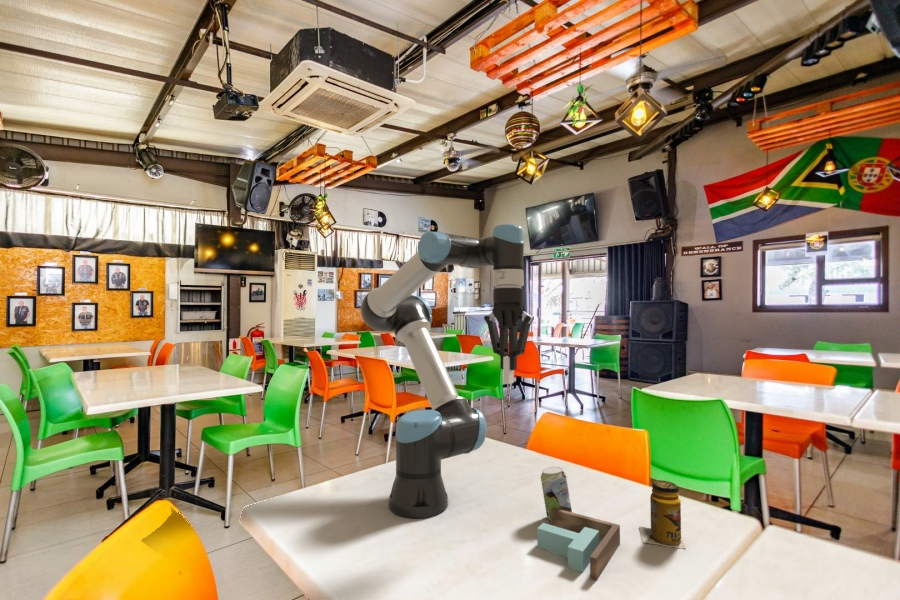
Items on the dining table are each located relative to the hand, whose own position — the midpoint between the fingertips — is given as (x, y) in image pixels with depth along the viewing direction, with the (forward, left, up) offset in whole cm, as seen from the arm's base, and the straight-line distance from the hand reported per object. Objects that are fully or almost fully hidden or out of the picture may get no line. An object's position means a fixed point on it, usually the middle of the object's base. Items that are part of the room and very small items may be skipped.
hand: (508, 383), depth 110 cm
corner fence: (+18, -6, -32) cm, 38 cm away
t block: (+18, -8, -33) cm, 38 cm away
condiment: (+32, +10, -33) cm, 47 cm away
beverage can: (+10, +5, -33) cm, 35 cm away
